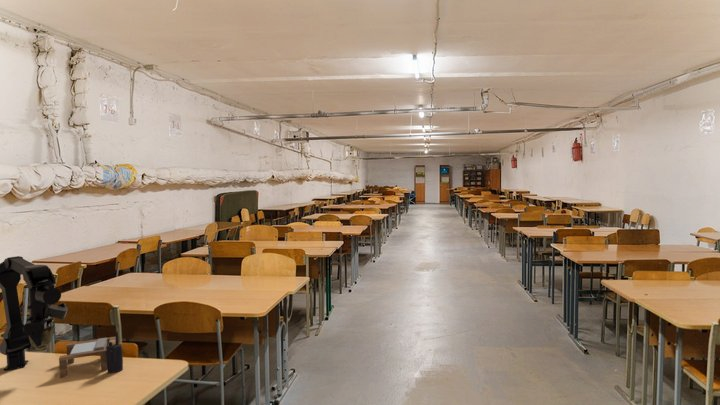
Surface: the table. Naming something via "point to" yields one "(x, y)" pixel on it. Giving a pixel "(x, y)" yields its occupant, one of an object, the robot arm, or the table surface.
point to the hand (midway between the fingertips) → (41, 343)
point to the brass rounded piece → (44, 339)
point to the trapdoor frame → (70, 357)
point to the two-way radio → (114, 356)
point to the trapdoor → (90, 346)
